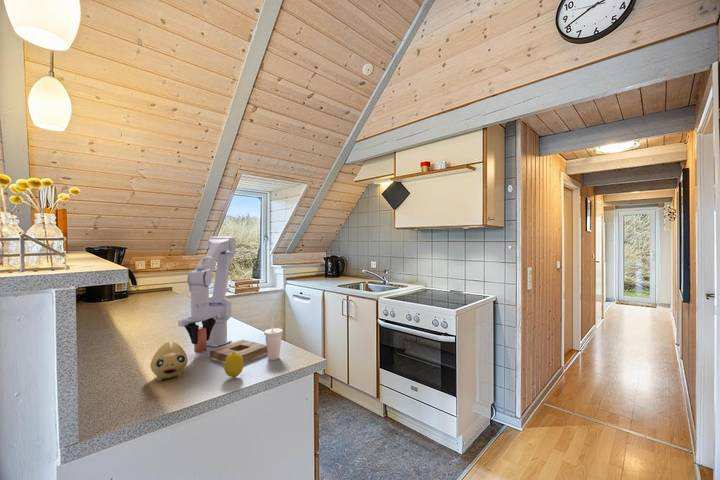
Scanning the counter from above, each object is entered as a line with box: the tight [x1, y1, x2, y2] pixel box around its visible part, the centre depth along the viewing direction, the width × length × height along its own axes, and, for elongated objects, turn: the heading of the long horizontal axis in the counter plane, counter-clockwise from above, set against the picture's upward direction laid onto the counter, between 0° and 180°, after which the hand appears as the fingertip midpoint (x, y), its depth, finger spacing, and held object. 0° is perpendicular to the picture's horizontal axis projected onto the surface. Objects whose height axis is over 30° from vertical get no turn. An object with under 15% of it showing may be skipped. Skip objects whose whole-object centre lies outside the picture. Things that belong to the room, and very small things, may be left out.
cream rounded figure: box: [149, 341, 189, 381], centre depth 99 cm, size 10×12×11 cm
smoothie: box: [263, 318, 284, 361], centre depth 115 cm, size 6×6×14 cm
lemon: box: [223, 352, 245, 379], centre depth 98 cm, size 6×6×8 cm
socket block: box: [209, 339, 268, 364], centre depth 117 cm, size 14×14×3 cm
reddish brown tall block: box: [193, 326, 208, 354], centre depth 116 cm, size 4×4×8 cm
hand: (200, 341), depth 116 cm, fingers closed on reddish brown tall block, 4 cm apart
